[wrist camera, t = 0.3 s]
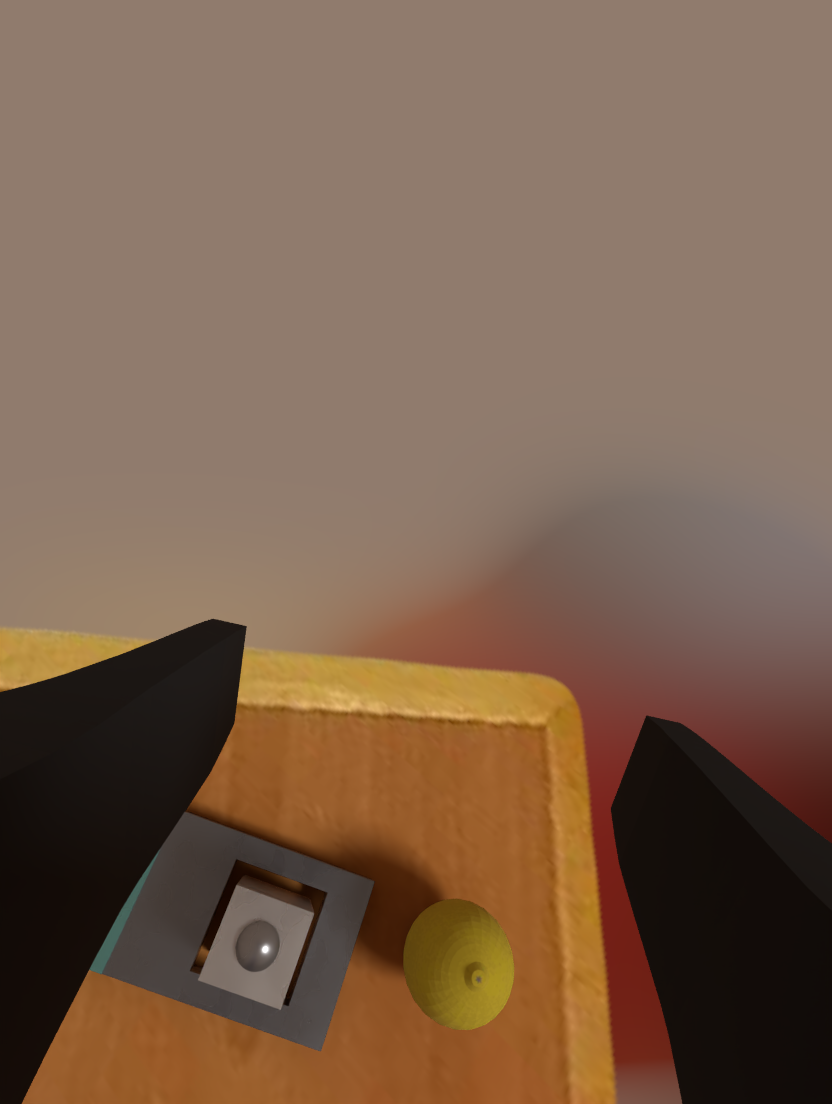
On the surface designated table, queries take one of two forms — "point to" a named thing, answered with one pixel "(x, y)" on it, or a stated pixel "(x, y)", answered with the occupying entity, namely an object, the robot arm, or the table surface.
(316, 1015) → the teal silver rectangular frame
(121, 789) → the robot arm
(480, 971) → the lemon
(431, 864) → the table surface
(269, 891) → the domed white cube
